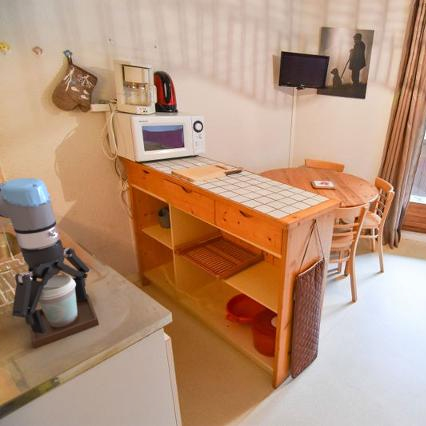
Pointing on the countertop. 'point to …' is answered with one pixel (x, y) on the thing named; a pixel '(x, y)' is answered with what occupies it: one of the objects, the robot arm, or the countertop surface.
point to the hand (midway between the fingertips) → (62, 313)
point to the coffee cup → (59, 301)
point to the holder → (82, 322)
